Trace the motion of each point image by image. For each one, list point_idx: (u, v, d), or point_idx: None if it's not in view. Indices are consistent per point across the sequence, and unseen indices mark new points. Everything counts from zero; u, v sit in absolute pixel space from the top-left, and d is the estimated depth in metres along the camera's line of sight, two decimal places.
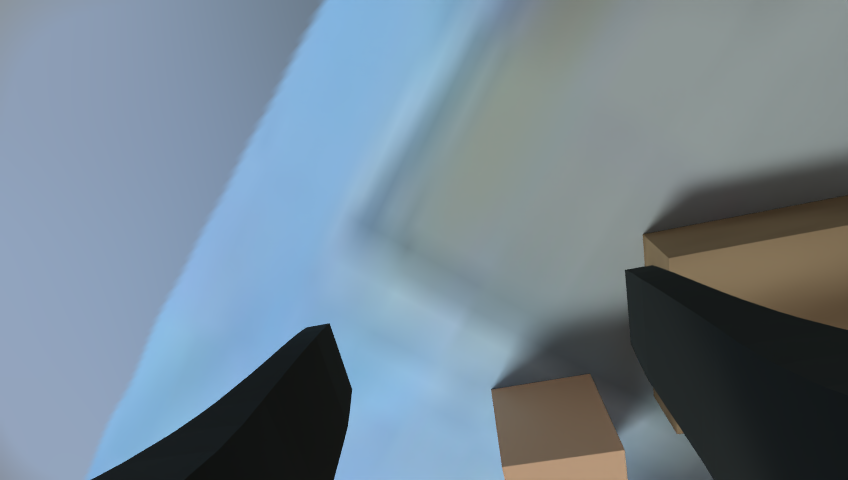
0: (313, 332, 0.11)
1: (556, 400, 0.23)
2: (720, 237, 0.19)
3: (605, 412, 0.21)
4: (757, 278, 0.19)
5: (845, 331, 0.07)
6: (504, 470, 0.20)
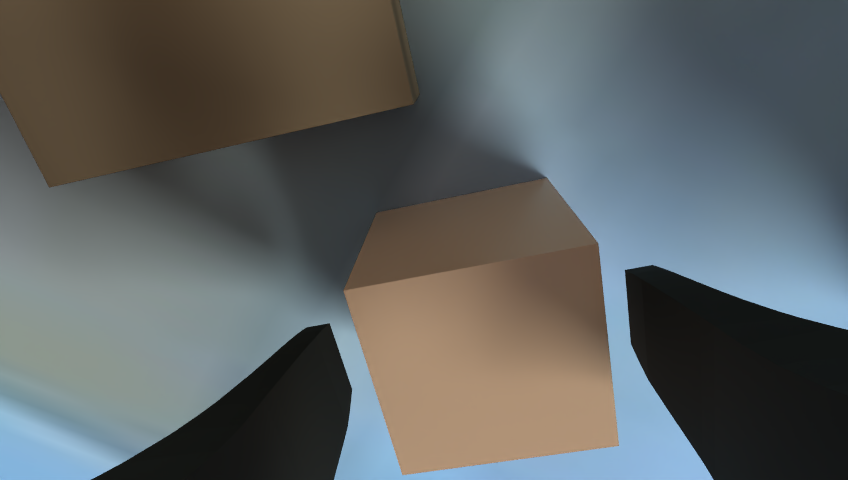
0: (313, 332, 0.11)
1: None
2: None
3: None
4: (38, 23, 0.10)
5: (845, 331, 0.07)
6: (410, 471, 0.11)
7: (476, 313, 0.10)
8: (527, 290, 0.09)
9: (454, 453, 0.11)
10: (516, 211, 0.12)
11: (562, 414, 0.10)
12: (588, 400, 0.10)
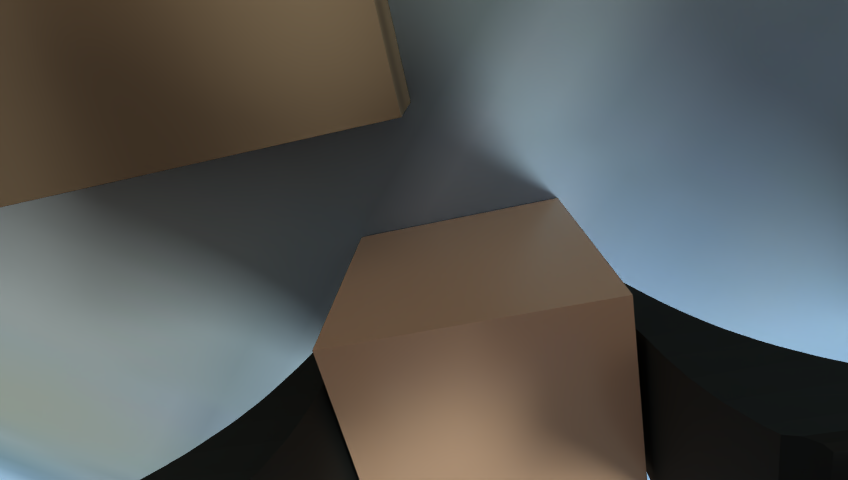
0: None
1: None
2: None
3: None
4: None
5: (765, 344, 0.07)
6: None
7: (478, 379, 0.08)
8: (542, 351, 0.07)
9: None
10: (524, 242, 0.10)
11: None
12: (615, 479, 0.08)
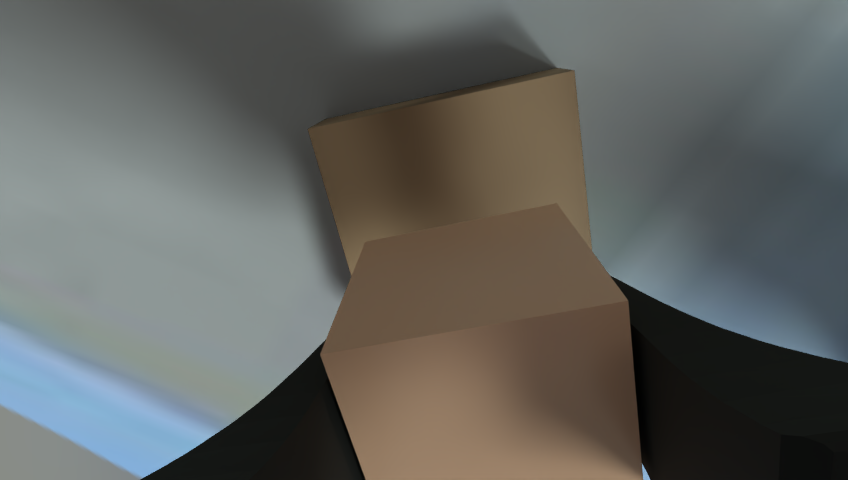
0: None
1: None
2: None
3: None
4: None
5: (765, 344, 0.07)
6: None
7: (480, 381, 0.08)
8: (542, 354, 0.08)
9: None
10: (524, 248, 0.10)
11: None
12: (612, 477, 0.09)
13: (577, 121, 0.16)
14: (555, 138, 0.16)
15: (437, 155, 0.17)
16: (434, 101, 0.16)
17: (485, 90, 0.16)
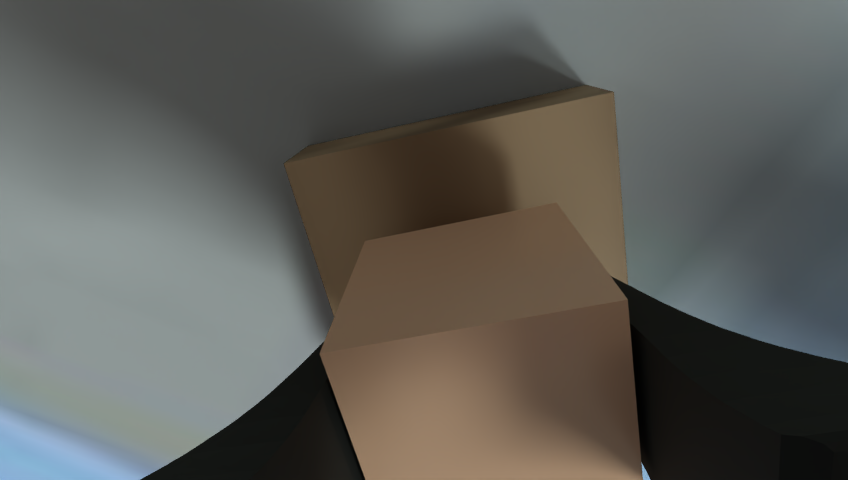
0: None
1: None
2: None
3: None
4: None
5: (765, 344, 0.07)
6: None
7: (479, 380, 0.08)
8: (541, 353, 0.08)
9: None
10: (523, 247, 0.10)
11: None
12: (611, 476, 0.09)
13: (616, 153, 0.13)
14: (588, 174, 0.13)
15: (442, 194, 0.13)
16: (439, 129, 0.13)
17: (502, 116, 0.13)
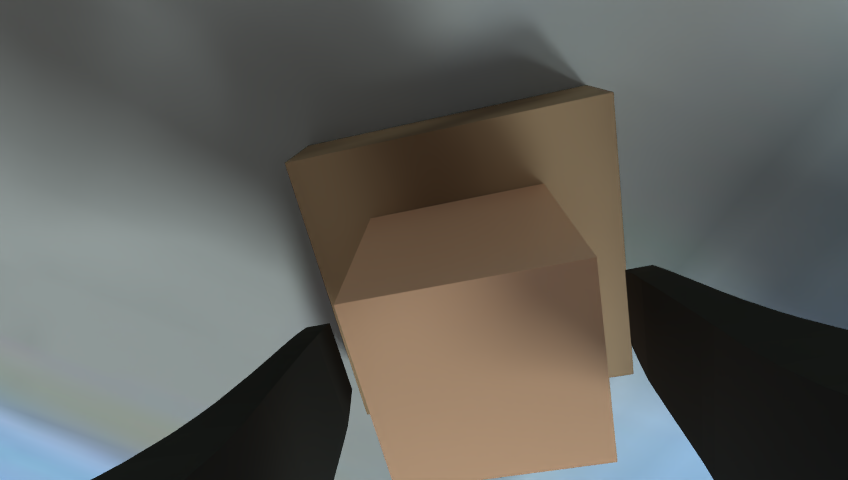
0: (313, 332, 0.11)
1: None
2: None
3: None
4: None
5: (845, 331, 0.07)
6: None
7: (470, 328, 0.09)
8: (524, 304, 0.09)
9: (448, 469, 0.11)
10: (512, 220, 0.11)
11: (559, 430, 0.10)
12: (586, 416, 0.10)
13: (615, 153, 0.13)
14: (587, 174, 0.13)
15: (443, 194, 0.14)
16: (440, 129, 0.13)
17: (502, 116, 0.13)
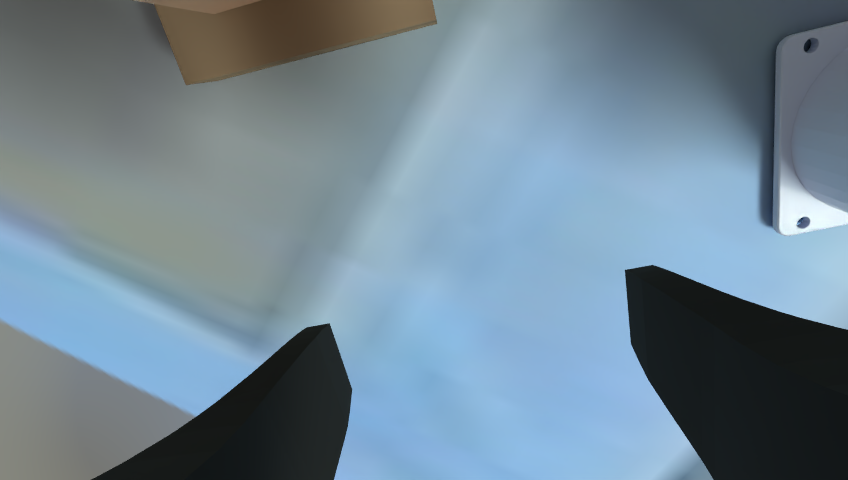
0: (313, 332, 0.11)
1: None
2: None
3: None
4: None
5: (845, 331, 0.07)
6: None
7: None
8: None
9: None
10: None
11: None
12: None
13: None
14: None
15: None
16: None
17: None
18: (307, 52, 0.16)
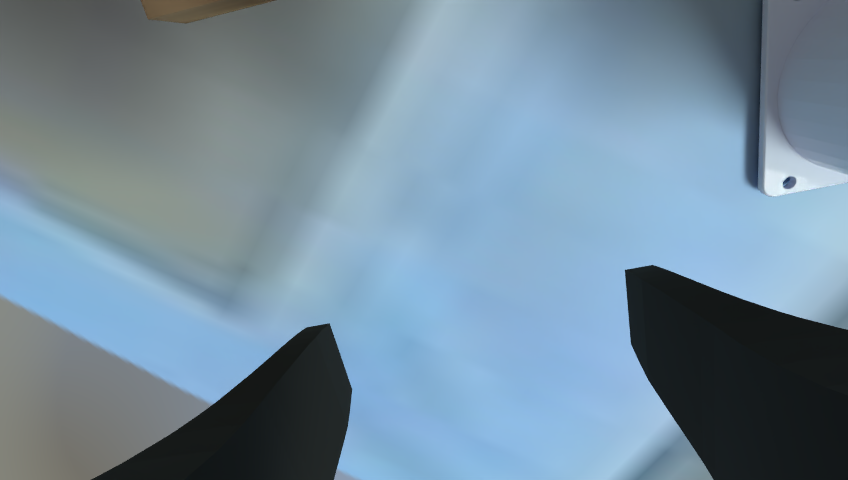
0: (313, 332, 0.11)
1: None
2: None
3: None
4: None
5: (845, 331, 0.07)
6: None
7: None
8: None
9: None
10: None
11: None
12: None
13: None
14: None
15: None
16: None
17: None
18: None
